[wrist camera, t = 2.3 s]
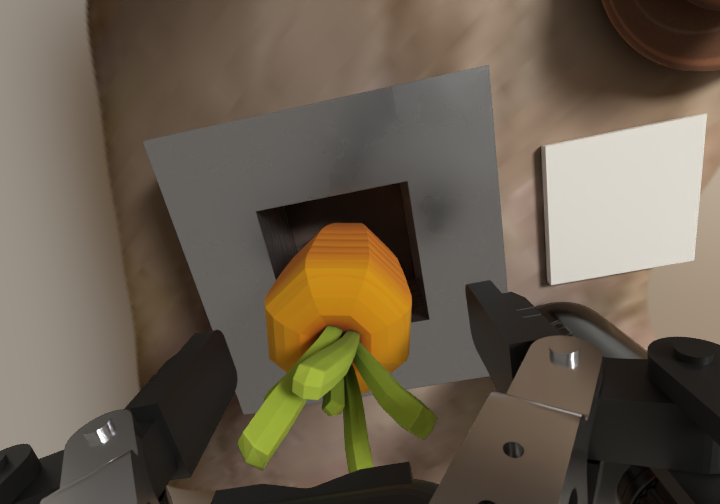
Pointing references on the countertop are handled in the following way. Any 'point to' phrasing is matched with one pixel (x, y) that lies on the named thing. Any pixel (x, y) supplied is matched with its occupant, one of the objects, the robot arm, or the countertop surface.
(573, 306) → the supplement bottle
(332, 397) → the carrot
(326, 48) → the countertop surface
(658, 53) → the cup and saucer
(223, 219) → the metal housing
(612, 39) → the countertop surface
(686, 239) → the plastic pad
